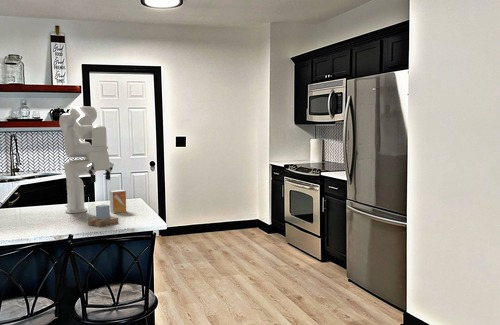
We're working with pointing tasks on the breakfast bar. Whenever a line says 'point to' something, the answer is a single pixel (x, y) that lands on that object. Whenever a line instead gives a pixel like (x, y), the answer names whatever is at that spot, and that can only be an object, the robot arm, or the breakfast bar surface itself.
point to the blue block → (103, 212)
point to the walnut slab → (103, 222)
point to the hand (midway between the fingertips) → (100, 180)
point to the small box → (118, 201)
